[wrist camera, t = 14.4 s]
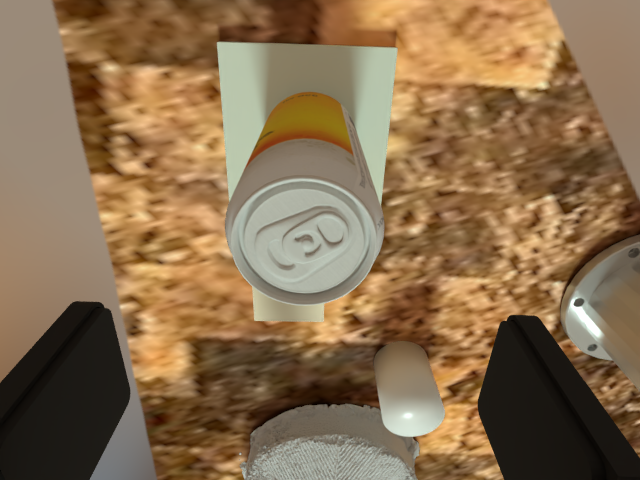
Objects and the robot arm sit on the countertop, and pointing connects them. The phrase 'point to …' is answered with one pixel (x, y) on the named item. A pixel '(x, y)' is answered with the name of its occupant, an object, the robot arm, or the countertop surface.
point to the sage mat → (304, 76)
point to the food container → (329, 446)
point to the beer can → (305, 205)
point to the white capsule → (407, 390)
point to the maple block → (284, 310)
